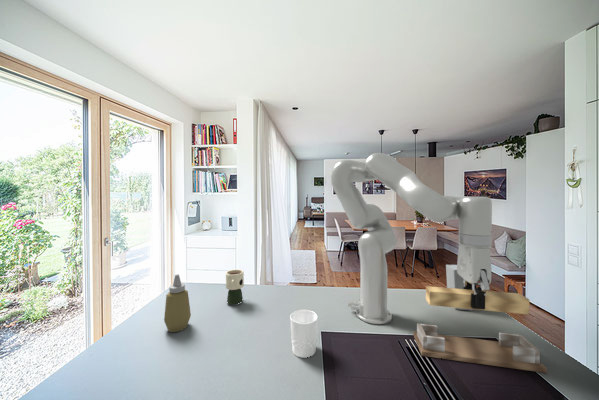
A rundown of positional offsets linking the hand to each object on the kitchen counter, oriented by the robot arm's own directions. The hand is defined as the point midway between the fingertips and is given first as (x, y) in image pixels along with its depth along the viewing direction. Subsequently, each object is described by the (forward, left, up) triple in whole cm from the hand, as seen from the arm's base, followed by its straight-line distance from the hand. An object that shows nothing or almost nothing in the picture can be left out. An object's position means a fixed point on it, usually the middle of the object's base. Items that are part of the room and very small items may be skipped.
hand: (473, 303), depth 69 cm
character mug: (-81, +13, -14) cm, 83 cm away
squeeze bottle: (-91, -8, -14) cm, 93 cm away
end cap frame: (0, 0, -14) cm, 14 cm away
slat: (0, 0, -1) cm, 1 cm away
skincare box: (+8, +31, -14) cm, 35 cm away
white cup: (-47, -10, -14) cm, 50 cm away
